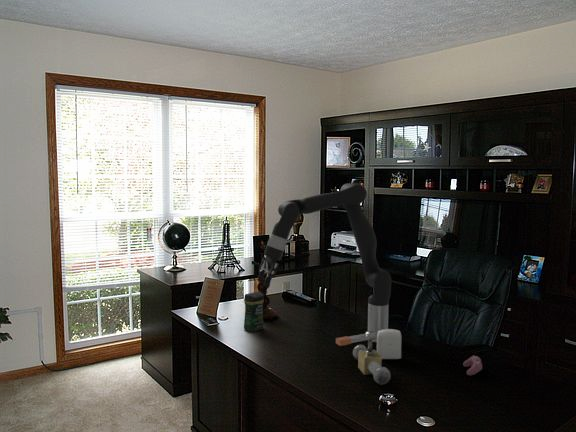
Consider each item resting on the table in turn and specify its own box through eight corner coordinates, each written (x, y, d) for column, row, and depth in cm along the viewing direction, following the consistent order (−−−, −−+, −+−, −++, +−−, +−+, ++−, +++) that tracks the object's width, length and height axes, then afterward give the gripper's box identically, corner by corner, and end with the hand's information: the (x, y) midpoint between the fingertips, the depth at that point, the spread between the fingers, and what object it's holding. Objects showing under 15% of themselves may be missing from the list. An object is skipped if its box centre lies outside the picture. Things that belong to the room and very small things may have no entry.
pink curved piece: (476, 380, 185) (486, 365, 184) (465, 374, 186) (475, 359, 185) (472, 370, 195) (481, 355, 194) (461, 364, 196) (470, 350, 194)
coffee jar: (252, 333, 232) (252, 295, 230) (241, 329, 237) (241, 293, 236) (266, 328, 239) (266, 292, 237) (255, 325, 245) (255, 289, 243)
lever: (371, 336, 192) (371, 330, 191) (376, 339, 188) (376, 333, 188) (335, 343, 184) (335, 336, 184) (340, 346, 181) (340, 339, 181)
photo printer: (377, 359, 201) (378, 331, 200) (375, 355, 205) (376, 327, 204) (402, 360, 201) (402, 331, 200) (399, 356, 205) (400, 327, 204)
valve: (351, 360, 201) (352, 330, 199) (367, 358, 202) (368, 329, 201) (373, 385, 177) (374, 352, 176) (391, 383, 179) (392, 351, 177)
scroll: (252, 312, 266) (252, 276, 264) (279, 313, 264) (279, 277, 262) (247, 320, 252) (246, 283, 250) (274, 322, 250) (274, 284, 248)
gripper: (289, 252, 196) (276, 290, 196) (277, 247, 209) (264, 282, 209) (273, 247, 193) (260, 285, 193) (262, 241, 207) (249, 277, 206)
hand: (262, 283), depth 201 cm, fingers open, 8 cm apart
